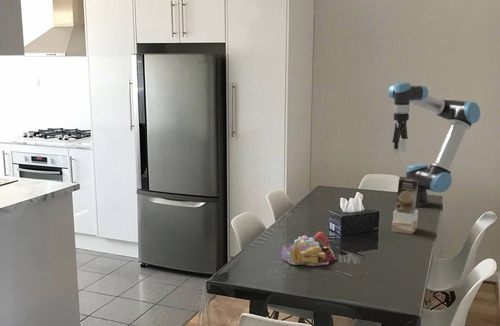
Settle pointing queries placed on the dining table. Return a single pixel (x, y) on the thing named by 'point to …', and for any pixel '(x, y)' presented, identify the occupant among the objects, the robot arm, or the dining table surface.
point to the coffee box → (407, 195)
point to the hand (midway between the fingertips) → (399, 153)
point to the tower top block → (405, 217)
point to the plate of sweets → (309, 251)
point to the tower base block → (404, 227)
